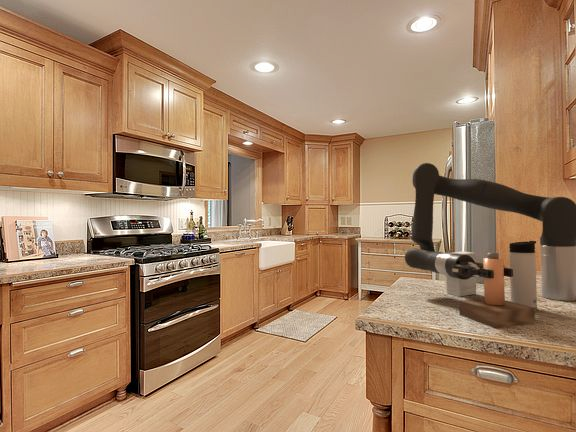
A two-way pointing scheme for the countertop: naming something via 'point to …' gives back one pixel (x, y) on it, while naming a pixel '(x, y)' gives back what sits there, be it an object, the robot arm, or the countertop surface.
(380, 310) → the countertop surface
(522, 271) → the travel mug
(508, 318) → the walnut plinth
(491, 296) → the orange bottle
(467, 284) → the skincare box
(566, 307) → the countertop surface
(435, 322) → the countertop surface
